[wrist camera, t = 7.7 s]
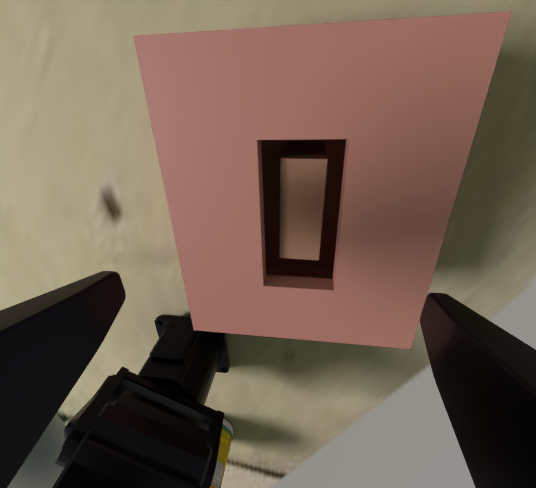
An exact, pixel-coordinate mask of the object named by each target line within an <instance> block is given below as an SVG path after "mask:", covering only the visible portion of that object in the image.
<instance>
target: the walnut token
mask: <svg viewBox="0 0 536 488" xmlns="http://www.w3.org/2000/svg"><path fill="white" fill-rule="evenodd" d="M327 161H328V159H327V154H326V150H325V146H324V142H315V141H289V142H288V144H287V146H286V148H285V150H284V152H283V154H282V156H281V158H280V255H279V258H289V259H305V260H319V252H320V241H321V229H322V218H323V207H324V195H325V184H326V172H327Z"/></svg>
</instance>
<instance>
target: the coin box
mask: <svg viewBox="0 0 536 488" xmlns="http://www.w3.org/2000/svg"><path fill="white" fill-rule="evenodd" d="M511 12H512V11H511ZM511 12H496V13H480V14H465V15H449V16H434V17H418V18H403V19H387V20H372V21H356V22H340V23H325V24H309V25H294V26H278V27H263V28H247V29H232V30H216V31H201V32H185V33H169V34H154V35H138V36H133V37H134V42H135V47H136V52H137V56H138V61H139V66H140V71H141V76H142V81H143V86H144V91H145V95H146V100H147V105H148V110H149V115H150V120H151V125H152V129H153V134H154V139H155V144H156V149H157V154H158V159H159V164H160V168H161V173H162V178H163V183H164V188H165V193H166V198H167V203H168V207H169V212H170V217H171V222H172V227H173V232H174V237H175V242H176V246H177V251H178V256H179V261H180V266H181V271H182V276H183V280H184V285H185V290H186V295H187V300H188V305H189V310H190V315H191V319H192V324H193V329H194V330H197V331H208V332H220V333H231V334H243V335H254V336H266V337H277V338H289V339H301V340H312V341H324V342H335V343H347V344H358V345H370V346H381V347H393V348H404V349H411V347H412V343H413V340H414V337H415V333H416V330H417V327H418V323H419V320H420V316H421V313H422V309H423V306H424V303H425V300H426V297H427V293H428V290H429V287H430V283H431V280H432V276H433V273H434V270H435V266H436V263H437V260H438V256H439V253H440V250H441V246H442V243H443V240H444V236H445V233H446V230H447V226H448V223H449V220H450V216H451V213H452V209H453V206H454V203H455V199H456V196H457V193H458V189H459V186H460V183H461V179H462V176H463V173H464V169H465V166H466V163H467V159H468V156H469V153H470V149H471V146H472V142H473V139H474V136H475V132H476V129H477V126H478V122H479V119H480V116H481V112H482V109H483V106H484V102H485V99H486V96H487V92H488V89H489V86H490V82H491V79H492V76H493V72H494V69H495V65H496V62H497V59H498V55H499V52H500V49H501V45H502V42H503V39H504V35H505V32H506V29H507V25H508V22H509V19H510V15H511ZM289 141H315V142H324V146H325V150H326V154H327V159H328V161H327V172H326V184H325V195H324V207H323V218H322V229H321V241H320V252H319V260H305V259H289V258H279V255H280V158H281V156H282V154H283V152H284V150H285V148H286V146H287V144H288V142H289Z"/></svg>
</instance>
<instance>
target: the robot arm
mask: <svg viewBox="0 0 536 488" xmlns="http://www.w3.org/2000/svg"><path fill="white" fill-rule="evenodd" d="M125 296H126V295H125V290H124V287H123V284H122V281H121V278H120V275H119V274H118V273H117V272H114V271H102V272H99V273H97V274H94V275H92V276H89V277H86V278H84V279H81V280H79V281H76V282H73V283H71V284H68V285H66V286H63V287H61V288H58V289H55V290H53V291H50V292H48V293H45V294H42V295H40V296H37V297H35V298H32V299H29V300H27V301H24V302H22V303H19V304H16V305H14V306H11V307H9V308H6V309H3V310H1V311H0V488H7V487H8V485H9V484H10V482H11V481H12V479H13V478H14V476H15V475H16V473H17V471H18V470H19V469H20V467H21V466H22V464H23V463H24V461H25V460H26V458H27V456H28V455H29V454H30V452H31V451H32V449H33V448H34V446H35V444H36V443H37V441H38V440H39V438H40V437H41V435H42V434H43V432H44V431H45V429H46V428H47V426H48V425H49V423H50V422H51V420H52V418H53V417H54V416H55V414H56V413H57V411H58V410H59V408H60V406H61V405H62V403H63V402H64V400H65V399H66V397H67V396H68V394H69V393H70V391H71V390H72V388H73V387H74V385H75V384H76V382H77V381H78V379H79V378H80V376H81V375H82V373H83V372H84V370H85V368H86V367H87V365H88V364H89V362H90V361H91V359H92V358H93V356H94V355H95V353H96V352H97V350H98V349H99V347H100V345H101V344H102V342H103V340H104V338H105V337H106V335H107V333H108V331H109V329H110V327H111V325H112V323H113V322H114V320H115V318H116V316H117V314H118V312H119V310H120V308H121V306H122V305H123V303H124V301H125ZM420 324H421V329H422V333H423V336H424V340H425V344H426V348H427V352H428V356H429V360H430V364H431V368H432V371H433V375H434V378H435V381H436V384H437V387H438V390H439V392H440V395H441V397H442V400H443V403H444V406H445V408H446V411H447V413H448V416H449V419H450V421H451V424H452V427H453V429H454V432H455V435H456V437H457V440H458V442H459V445H460V448H461V450H462V453H463V455H464V458H465V461H466V464H467V466H468V469H469V471H470V474H471V477H472V479H473V482H474V485H475V487H476V488H536V350H535V349H534V348H532V347H530V346H529V345H527V344H525V343H524V342H522V341H521V340H519V339H517V338H516V337H514V336H513V335H511V334H509V333H508V332H506V331H505V330H503V329H502V328H500V327H498V326H497V325H495V324H494V323H492V322H491V321H489V320H487V319H486V318H484V317H483V316H481V315H479V314H478V313H476V312H475V311H473V310H471V309H470V308H468V307H467V306H465V305H463V304H462V303H460V302H459V301H457V300H455V299H454V298H452V297H451V296H449V295H447V294H444V293H429V294H428V295H427V297H426V300H425V303H424V306H423V309H422V313H421V316H420ZM155 325H156V329H157V332H158V336H159V340H158V341H157V343H156V344H155V346H154V348H153V349H152V351H151V352H150V356H149V358H148V359H147V361H146V363H145V364H144V366H143V367H142V369H141V371H140V372H139V374H138V375H136V374H134V373H132V372H130V371H129V369H127V368H124V367H122V368H121V369H120V370H119V371H118V373H117V374H116V375H113V376H108V377H107V379H106V380H105V381H104V383H103V384H102V386H101V387H100V388H99V390H98V391H97V392H96V394H95V395H94V396H93V397H92V398H91V400H90V401H89V402H88V403H87V404H86V405H85V406H84V407H83V408H82V409H81V410H80V411H79V412H78V413H77V414H76V415H75V416H74V417H73V418H72V419H71V420H70V421H69V423H68V424H67V426H66V427H65V429H64V437H65V442H64V444H63V446H62V449H61V450H62V451H61V453H60V455H59V457H58V459H57V461H56V463H55V465H56V466H57V467H60V468H62V469H64V470H63V471H62V473H61V474H60V476H59V478H58V479H57V481H56V483H55V484H54V486H53V487H52V488H210V486H211V483H212V480H213V476H214V473H215V469H216V464H217V458H218V451H219V445H220V439H221V432H222V426H223V419H224V413H223V412H221V411H219V410H218V411H216V410H214V409H211V408H209V407H207V406H205V405H204V404H205V402H206V399H207V396H208V393H209V390H210V387H211V384H212V381H213V379H214V376H215V373H216V372H222V373H227V372H228V371H229V367H230V365H229V358H228V350H227V343H226V336H225V333H220V332H208V331H197V330H194V329H193V324H192V319H191V318H179V317H167V316H158V317H157V318H156V320H155Z"/></svg>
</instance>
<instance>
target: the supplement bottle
mask: <svg viewBox="0 0 536 488" xmlns="http://www.w3.org/2000/svg"><path fill="white" fill-rule="evenodd" d="M232 436H233V428H232V426H231V424H230V423H229V422H228V421H227V420H226V419H223V426H222V432H221V439H220V445H219V451H218V458H217V464H216V469H215V473H214V476H213V480H212V483H211V486H210V488H221V484H222V479H223V475H224V471H225V467H226V462H227V458H228V454H229V450H230V445H231V441H232Z"/></svg>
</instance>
